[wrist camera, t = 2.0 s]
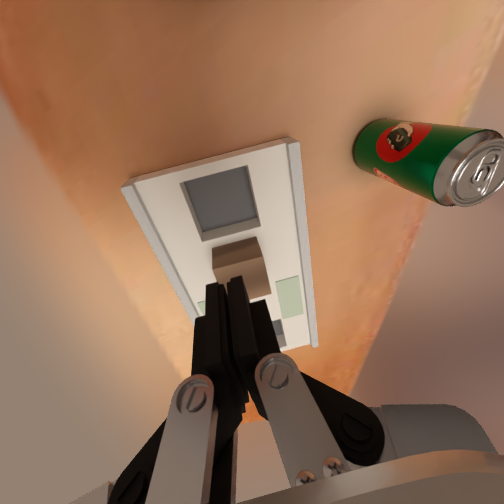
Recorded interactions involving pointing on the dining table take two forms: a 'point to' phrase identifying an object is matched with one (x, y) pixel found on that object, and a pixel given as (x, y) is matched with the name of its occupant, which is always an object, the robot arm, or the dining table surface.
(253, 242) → the walnut block
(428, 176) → the soda can
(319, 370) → the dining table surface
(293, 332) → the box
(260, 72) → the dining table surface
